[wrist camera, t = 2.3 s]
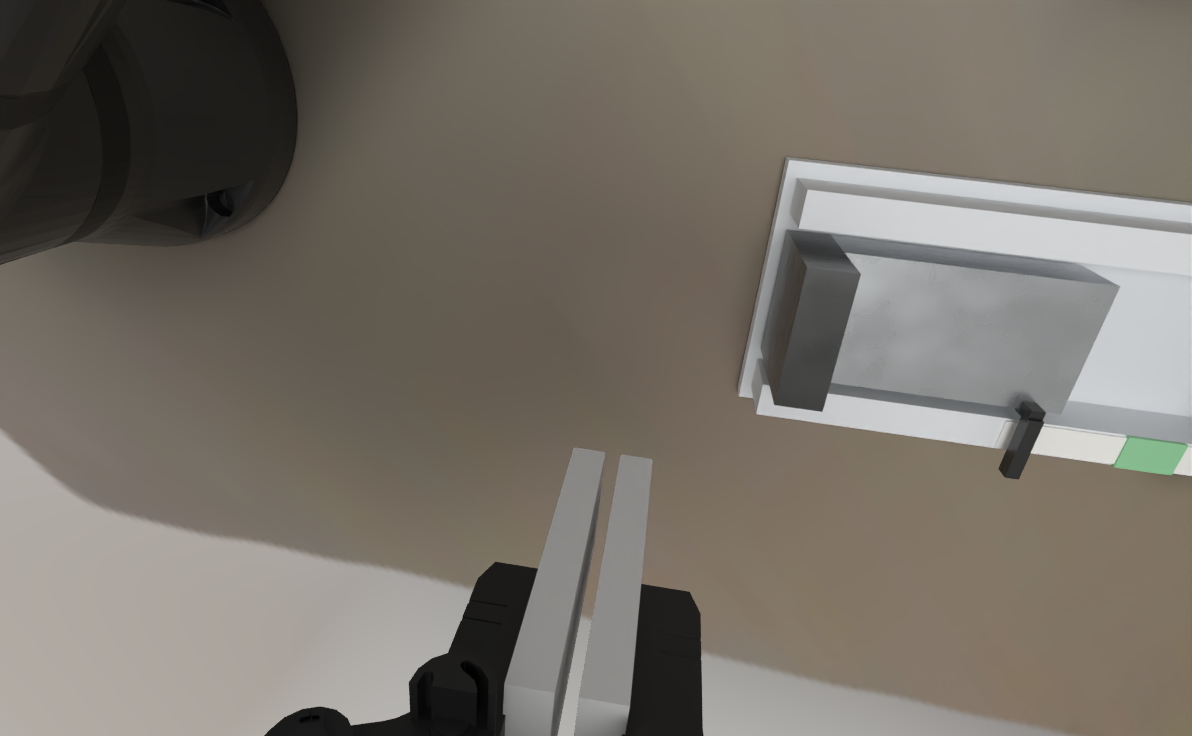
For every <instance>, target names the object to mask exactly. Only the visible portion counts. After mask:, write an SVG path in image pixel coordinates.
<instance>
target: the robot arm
mask: <svg viewBox="0 0 1192 736" xmlns="http://www.w3.org/2000/svg"><path fill="white" fill-rule="evenodd" d="M295 137H296V102H295V94H294V87H293V82H292V77H291V73H290V69H289V66H288V62H287V59H286V56H285V53H284V50H283V47H282V45H281V42H280V40H279V37H278V35H277V33H276V30H275V28H274V26H273V24H272V22H271V20H270V18H269V16H268V15H267V13H266V11H265V9H264V7H263V6H262V4H261V3H260V1H259V0H0V265H1V264H4V263H7V262H10V261H14V260H17V259H20V258H23V257H26V256H29V255H32V254H36V253H39V252H42V251H45V250H48V249H51V248H54V247H58V246H61V245H64V244H67V243H71V242H91V243H108V244H125V245H142V246H162V247H168V246H180V245H187V244H193V243H197V242H201V241H204V240H207V239H210V238H212V237H215V236H218V235H220V234H223V233H225V232H228V231H231V230H233V229H235V228H237V227H240V226H242V225H243V224H245V223H247V222H248V221H250V220H251V219H253V218H254V217H255V216H257V215H258V214H259V213H260V212H261V211H262V210H263V209H264V208H265V207H266V206H267V205H268V204H269V203H270V201H271V200H272V199H273V198H274V196H275V195H276V193H277V192H278V190H279V188H280V187H281V185H282V183H283V181H284V179H285V176H286V174H287V171H288V169H289V165H290V162H291V159H292V155H293V150H294V144H295ZM604 460H605V452H602V451H595V450H588V449H581V448H575V447H574V448H573V452H572V455H571V459H570V462H569V465H568V469H567V472H566V476H565V479H564V482H563V486H562V489H561V493H560V496H559V500H558V503H557V506H556V510H555V513H554V517H553V520H552V523H551V527H550V530H549V534H548V537H547V540H546V544H545V547H544V551H543V554H542V557H541V561H540V564H539V568H538V569H536V568H530V567H524V566H518V565H512V564H506V563H500V562H495V563H494V564H493V565H492V566H490V567H489V568H488V569H487V570H486V571H485V572H484V573H483V574H482V575H481V576H480V577H479V578H478V580H477V582H476V585H475V587H474V590H473V592H472V595H471V597H470V601H469V604H468V605H467V607H466V609H465V612H464V614H463V619H462V621H461V622H460V625H459V627H458V629H457V632H456V634H455V637H454V639H453V642H452V644H451V647H450V649H449V652H448V653H447V654H444V655H441V656H438V657H435V658H432V659H431V660H429V661H428V662H426V663H425V664H424V665H422V666H421V667H420V668H418V670H417V671H416V673H415V674H414V676H413V677H412V679H411V680H410V682H409V694H410V712H409V713H407V714H405V715H402V716H400V717H398V718H395V719H391V720H386V721H381V722H375V723H366V724H360V725H353V726H351V725H350V723H349V721H348V719H347V718H346V717H345V716H344V715H342V714H341V713H340V712H338V711H337V710H334V709H329V708H325V707H314V708H307V709H302V710H300V711H298V712H295V713H293V714H291V715H289V716H287V717H284V718H283V719H282V720H281V721H280V722H279V723H277V724H276V725H275V726H274V727H273V728H271V729H270V730H269V731H268V732H267V734H266V735H265V736H557V735H558V729H559V725H560V719H561V714H562V709H563V704H564V699H565V694H566V689H567V683H568V678H569V673H570V668H571V663H572V657H573V652H574V647H575V642H576V637H577V632H578V627H579V622H580V616H581V611H582V606H583V601H584V596H585V591H586V585H587V580H588V575H589V570H590V565H591V560H592V555H593V549H594V544H595V537H596V529H597V520H598V511H599V503H600V494H601V486H602V477H603V469H604ZM652 461H653V459H648V458H642V457H635V456H628V455H622V454H621V455H620V461H619V467H618V473H617V478H616V484H615V490H614V496H613V502H612V507H611V513H610V519H609V525H608V531H607V536H606V542H605V548H604V554H603V560H602V565H601V571H600V577H599V583H598V589H597V594H596V600H595V606H594V612H593V618H592V623H591V630H590V635H589V641H588V647H587V652H586V658H585V664H584V670H583V676H582V681H581V687H580V693H579V700H578V708H577V717H576V725H575V733H574V736H703V729H702V675H701V641H700V639H701V620H700V612H699V610H698V608H697V606H696V604H695V602H694V600H693V598H692V596H691V594H690V592H687V591H681V590H675V589H668V588H662V587H656V586H650V585H644V584H641V580H642V570H643V559H644V548H645V537H646V526H647V515H648V504H649V493H650V482H651V471H652Z"/></svg>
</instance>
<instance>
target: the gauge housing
mask: <svg viewBox="0 0 1192 736" xmlns="http://www.w3.org/2000/svg"><path fill="white" fill-rule="evenodd" d="M786 230H795V231H804V232H812V233H820V234H828V235H837V236H845V237H853V238H861V239H870V240H878V241H886V242H894V243H902V244H911V245H919V246H927V247H935V248H944V249H952V250H960V251H968V252H976V253H985V254H993V255H1001V256H1009V257H1018V258H1026V259H1034V260H1042V261H1051V262H1059V263H1067V264H1075V265H1082V266H1084V267H1085V268H1087V269H1089V270H1091V271H1093V272H1095V273H1096V274H1098V275H1100V276H1102V277H1104V278H1106V279H1107V280H1109V281H1111V282H1113V283H1115V284H1117V285H1118V286H1120V288H1119V291H1118V293H1117V295H1116V297H1115V299H1114V301H1113V304H1112V306H1111V308H1110V310H1109V312H1108V314H1107V317H1106V319H1105V321H1104V323H1103V325H1102V327H1101V330H1100V332H1099V334H1098V336H1097V338H1096V340H1095V342H1094V345H1093V347H1092V349H1091V351H1090V353H1089V355H1088V358H1087V360H1086V362H1085V364H1084V366H1083V368H1082V371H1081V373H1080V375H1079V377H1078V379H1077V381H1076V384H1075V386H1074V388H1073V390H1072V392H1071V394H1070V396H1069V399H1068V401H1067V403H1066V405H1065V407H1064V409H1063V412H1062V414H1054V413H1047V412H1046V415H1045V417H1044V419H1043V421H1044V424H1043V427H1042V429H1041V431H1040V433H1039V436H1038V438H1037V440H1036V442H1035V444H1034V447H1033V449H1032V451H1031V453H1033V454H1040V455H1047V456H1055V457H1062V458H1069V459H1076V460H1083V461H1090V462H1097V463H1104V464H1111V465H1112V466H1113V467H1116V468H1123V469H1130V470H1137V471H1144V472H1151V473H1158V474H1165V475H1172V474H1173V473H1174V474H1181V475H1188V476H1192V203H1189V202H1180V201H1172V200H1163V199H1154V198H1145V197H1136V196H1128V195H1119V194H1110V193H1101V192H1092V191H1084V190H1075V189H1066V188H1057V187H1048V186H1040V185H1031V184H1022V183H1013V182H1004V181H995V180H987V179H978V178H969V177H960V176H951V175H943V174H934V173H925V172H916V171H907V170H899V169H890V168H881V167H872V166H863V165H855V164H846V163H837V162H828V161H819V160H810V159H802V158H793V157H786V160H785V165H784V170H783V174H782V179H781V184H780V189H779V193H778V198H777V203H776V208H775V212H774V217H773V222H772V227H771V231H770V236H769V241H768V246H767V250H766V255H765V260H764V265H763V269H762V274H761V279H760V284H759V288H758V293H757V298H756V303H755V307H754V312H753V317H752V322H751V326H750V331H749V336H748V341H747V345H746V350H745V355H744V359H743V364H742V369H741V374H740V378H739V383H738V394H739V396H741V397H748V398H753V399H754V405H755V410H756V414H760V415H767V416H774V417H781V418H788V419H795V420H802V421H809V422H816V423H823V424H830V425H837V426H844V427H851V428H858V429H865V430H872V431H879V432H886V433H893V434H900V435H907V436H914V437H921V438H928V439H935V440H942V441H949V442H956V443H963V444H970V445H977V446H984V447H991V448H998V449H1005V450H1007V448H1008V445H1009V443H1010V441H1011V439H1012V436H1013V434H1014V432H1015V429H1016V427H1017V425H1018V422H1019V420H1020V418H1021V416H1020V415H1019V414H1018V413H1017V411H1016V410H1015V408H1010V407H1003V406H996V405H989V404H981V403H974V402H967V401H959V400H952V399H945V398H938V397H930V396H923V395H916V394H909V393H901V392H894V391H887V390H880V389H872V388H865V387H858V386H851V385H843V384H836V383H830V387H829V390H828V394H827V398H826V401H825V405H824V408H823V412H820V411H813V410H806V409H798V408H791V407H784V406H777V405H774V403H773V398H772V394H771V390H770V386H769V382H768V377H767V373H766V369H765V365H764V361H763V356H762V352H761V343H762V339H763V334H764V330H765V325H766V321H767V316H768V311H769V307H770V302H771V298H772V293H773V289H774V284H775V280H776V275H777V271H778V266H779V262H780V257H781V253H782V248H783V244H784V239H785V235H786Z"/></svg>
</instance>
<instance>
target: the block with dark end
mask: <svg viewBox="0 0 1192 736" xmlns="http://www.w3.org/2000/svg"><path fill="white" fill-rule="evenodd" d="M1119 288H1120V286H1118V285H1117V284H1115V283H1113V282H1111V281H1109V280H1107V279H1106V278H1104V277H1102V276H1100V275H1098V274H1096V273H1095V272H1093V271H1091V270H1089V269H1087V268H1085V267H1084V266H1082V265H1075V264H1067V263H1059V262H1051V261H1042V260H1034V259H1026V258H1018V257H1009V256H1001V255H993V254H985V253H976V252H968V251H960V250H952V249H944V248H935V247H927V246H919V245H911V244H902V243H894V242H886V241H878V240H870V239H861V238H853V237H845V236H837V235H828V234H820V233H812V232H804V231H795V230H786V235H785V239H784V244H783V248H782V253H781V257H780V262H779V266H778V271H777V275H776V280H775V284H774V289H773V293H772V298H771V302H770V307H769V311H768V316H767V321H766V325H765V330H764V334H763V339H762V343H761V352H762V356H763V361H764V365H765V369H766V373H767V377H768V382H769V386H770V390H771V394H772V398H773V403H774V405H777V406H784V407H791V408H798V409H806V410H813V411H820V412H823V408H824V405H825V401H826V398H827V394H828V390H829V387H830V383H836V384H843V385H851V386H858V387H865V388H872V389H880V390H887V391H894V392H901V393H909V394H916V395H923V396H930V397H938V398H945V399H952V400H959V401H967V402H974V403H981V404H989V405H996V406H1003V407H1010V408H1015V410H1016V411H1017V413H1018V414H1019V415H1020V416H1021V418H1020V420H1019V422H1018V425H1017V427H1016V429H1015V432H1014V434H1013V436H1012V439H1011V441H1010V443H1009V445H1008V448H1007V450H1006V452H1005V455H1004V457H1003V459H1002V462H1001V464H1000V466H999V470H1000V472H1001V473H1002V474H1003V476H1004V477H1005V478H1012V479H1019V477H1020V475H1021V473H1022V471H1023V469H1024V466H1025V464H1026V462H1027V460H1028V458H1029V455H1030V453H1031V451H1032V449H1033V447H1034V444H1035V442H1036V440H1037V438H1038V436H1039V433H1040V431H1041V429H1042V427H1043V424H1044V421H1043V419H1044V417H1045V415H1046V412H1047V413H1054V414H1062V412H1063V409H1064V407H1065V405H1066V403H1067V401H1068V399H1069V396H1070V394H1071V392H1072V390H1073V388H1074V386H1075V384H1076V381H1077V379H1078V377H1079V375H1080V373H1081V371H1082V368H1083V366H1084V364H1085V362H1086V360H1087V358H1088V355H1089V353H1090V351H1091V349H1092V347H1093V345H1094V342H1095V340H1096V338H1097V336H1098V334H1099V332H1100V330H1101V327H1102V325H1103V323H1104V321H1105V319H1106V317H1107V314H1108V312H1109V310H1110V308H1111V306H1112V304H1113V301H1114V299H1115V297H1116V295H1117V293H1118V291H1119Z"/></svg>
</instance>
